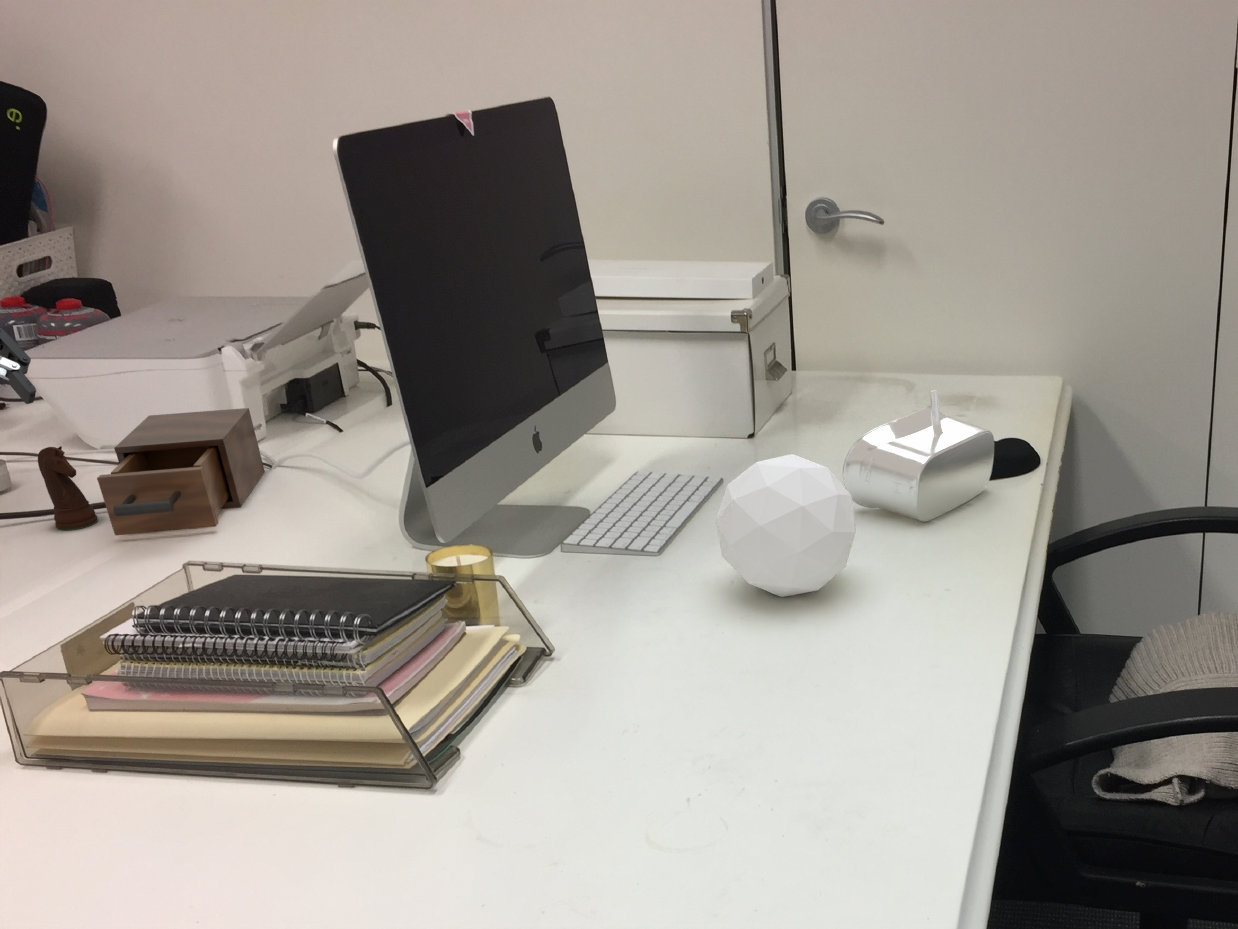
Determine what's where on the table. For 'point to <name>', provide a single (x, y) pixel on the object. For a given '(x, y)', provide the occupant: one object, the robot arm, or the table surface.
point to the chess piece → (64, 491)
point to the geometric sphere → (786, 525)
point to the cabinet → (205, 443)
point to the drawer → (165, 490)
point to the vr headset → (919, 464)
